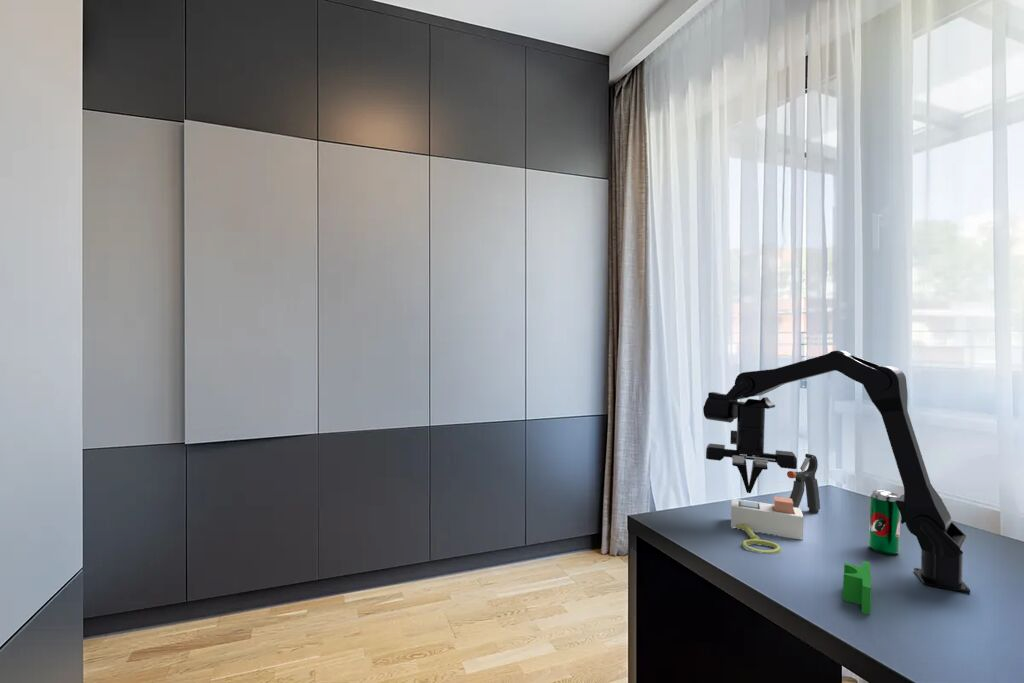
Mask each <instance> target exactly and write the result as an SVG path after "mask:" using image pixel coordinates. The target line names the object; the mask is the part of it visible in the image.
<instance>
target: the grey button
mask: <svg viewBox="0 0 1024 683" xmlns="http://www.w3.org/2000/svg"><path fill="white" fill-rule="evenodd" d="M748 501H749V500H746V501H741V503H740V507H747V508H754V509H758V503H755V502H756V501H753V502H748Z"/></svg>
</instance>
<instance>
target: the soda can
mask: <svg viewBox="0 0 1024 683" xmlns="http://www.w3.org/2000/svg"><path fill="white" fill-rule="evenodd" d="M898 498H899V495H898V493H895V492H892V491H888V490H880V489H874V490H872V493H871V494H870V496H869V499H870V500H869V522H868V523H869V527H868V528H869V530H868V532H869V533H868V535H869V536H868V545H869V547H870V548H871V549H872V550H873V551H874V552H876V553H880V554H884V555H888V556H891V555H896V554H898V553H899V552H900V536H901V535H900V530H901V513H900V511H899V509H898V507H897V505H896V502H895V501H896V500H897V499H898Z"/></svg>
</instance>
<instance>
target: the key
mask: <svg viewBox="0 0 1024 683" xmlns="http://www.w3.org/2000/svg"><path fill="white" fill-rule="evenodd" d="M736 527H737V529H736V530H739V529H744V530H743V531H745V532H746V534H747V535H748V537H749V538H750V539H744V540H743V541H742V544H741V545H743V547H745V548H747V549H749V550H753V551H755V552H762V553H777V554H780V553H781V546H780V545H779V544H778V543H776V542H773V541H770V540H765V539H761V538H760V537H759V536H758V535H756V534H755V532H753V531H752V530H751V529H750V527H749V526H748V525H747V524H746V523H744V524H743V525H736ZM747 544H761V545H767V546H766V547H768V546H771V547H770V548H772V547H774V548H773V549H769V550H767V549H760V548H759V549H758V548H754V547H752V546H750V545H747ZM761 545H760V546H761ZM743 547H742V548H743ZM775 548H776V549H775ZM755 552H754V553H755ZM779 552H780V553H779ZM762 553H761V554H762Z"/></svg>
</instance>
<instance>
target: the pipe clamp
mask: <svg viewBox="0 0 1024 683" xmlns="http://www.w3.org/2000/svg"><path fill="white" fill-rule="evenodd" d="M861 562H862V564H861V566H858V565H855V564H851V563H846V562H844V564H843V567H844V568H843V580H842V582H843V583H842V600H843V601H846V602H850V603H854V604H856V605H860V606H861V613H862V614H865V615H869V616H870V615H871V608H872V607H871V606H872V603H871V602H872V580H871V579H872V576H871V575H872V574H871V562H868V561H864V560H861Z"/></svg>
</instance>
